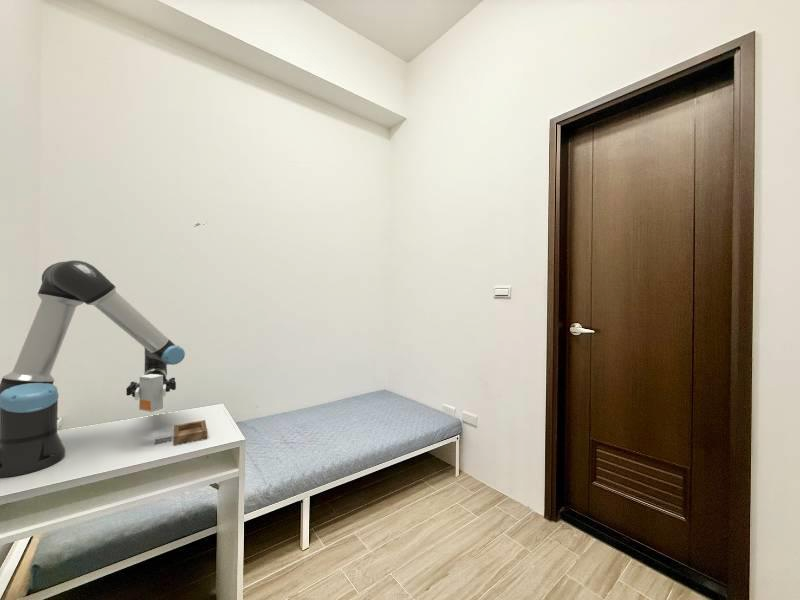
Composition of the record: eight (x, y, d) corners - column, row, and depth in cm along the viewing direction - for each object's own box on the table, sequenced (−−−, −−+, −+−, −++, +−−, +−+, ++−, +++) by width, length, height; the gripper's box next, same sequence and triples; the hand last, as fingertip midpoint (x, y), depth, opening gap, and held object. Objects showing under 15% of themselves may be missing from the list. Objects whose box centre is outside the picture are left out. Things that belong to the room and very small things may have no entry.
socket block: (173, 445, 111) (173, 436, 111) (174, 433, 121) (174, 425, 121) (207, 438, 117) (207, 430, 117) (204, 427, 127) (205, 419, 127)
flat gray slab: (154, 444, 112) (154, 443, 112) (155, 440, 115) (155, 439, 115) (171, 441, 115) (171, 440, 115) (172, 436, 118) (172, 436, 118)
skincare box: (138, 410, 112) (138, 376, 112) (151, 406, 117) (151, 373, 116) (151, 412, 111) (151, 377, 111) (163, 408, 115) (164, 374, 115)
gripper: (184, 385, 134) (185, 400, 115) (121, 392, 123) (111, 410, 104) (184, 367, 134) (185, 379, 115) (122, 373, 123) (112, 387, 104)
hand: (150, 394), depth 109 cm, fingers closed on skincare box, 7 cm apart
